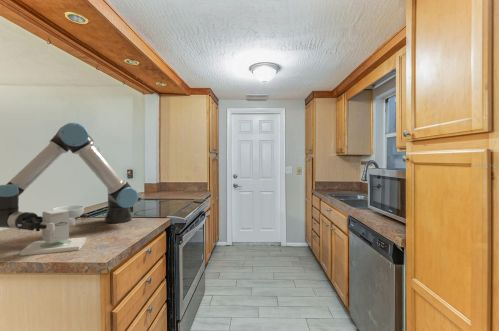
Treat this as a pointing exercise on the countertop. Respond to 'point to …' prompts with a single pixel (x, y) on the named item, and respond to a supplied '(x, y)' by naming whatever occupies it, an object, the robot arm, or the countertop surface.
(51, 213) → the supplement box
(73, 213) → the cereal bowl
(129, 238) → the countertop surface
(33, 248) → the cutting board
